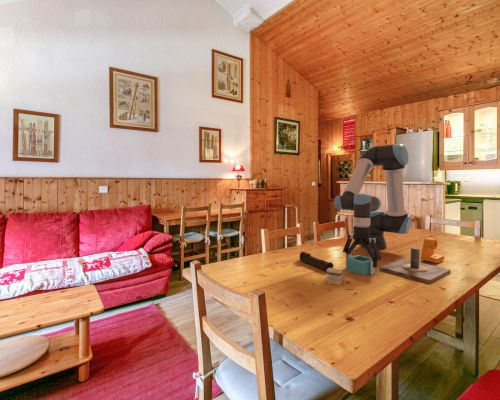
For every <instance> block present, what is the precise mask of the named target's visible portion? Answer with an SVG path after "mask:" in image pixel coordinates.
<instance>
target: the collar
mask: <svg viewBox="0 0 500 400" xmlns="http://www.w3.org/2000/svg"><path fill="white" fill-rule="evenodd" d="M371 260H372V258H371V257H370V256H365V255H361V254H356V255H352V257H348V258H346V257H345V271H348V272H350V273H354V274H358V275H361V276H368V275H371V274H370V269H371ZM376 272H377V267H375V273H376Z"/></svg>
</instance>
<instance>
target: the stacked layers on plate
mask: <svg viewBox="0 0 500 400" xmlns="http://www.w3.org/2000/svg"><path fill="white" fill-rule="evenodd" d="M326 271H327V272H326ZM325 272H326V273H325V274H326V280H327V281H326V283H327V284H332V285H336V286H340V285H342V284H343V281H344V278H343V276H344V273H343V272H344V270H340V269H338V268H334V267H333V268H328V269H327V270H325Z"/></svg>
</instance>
